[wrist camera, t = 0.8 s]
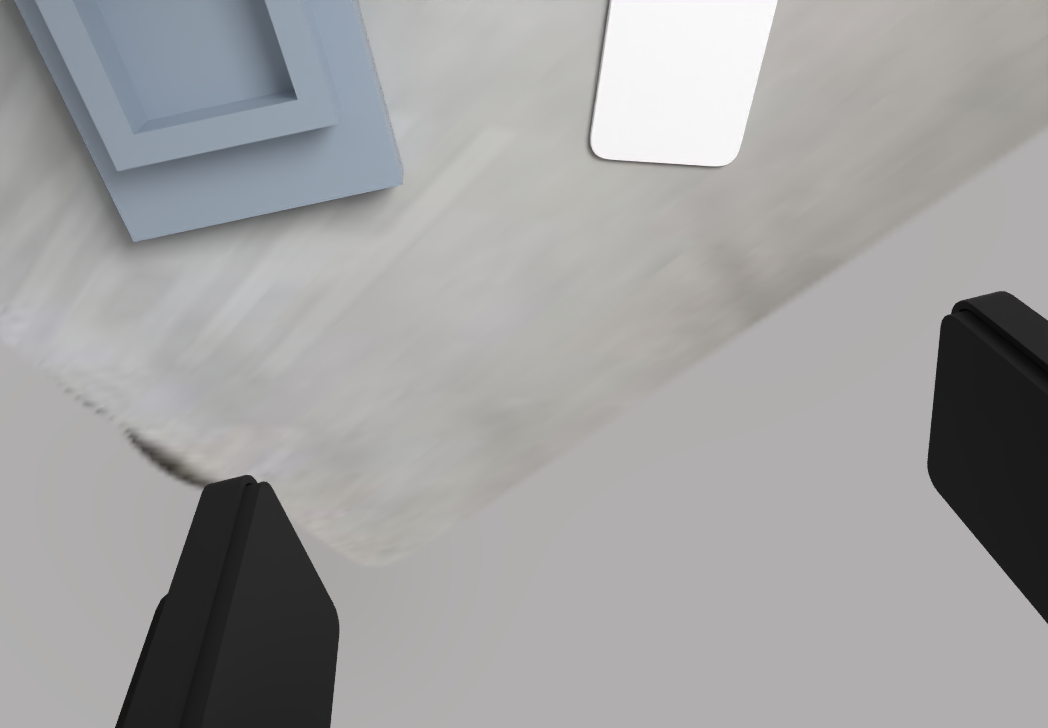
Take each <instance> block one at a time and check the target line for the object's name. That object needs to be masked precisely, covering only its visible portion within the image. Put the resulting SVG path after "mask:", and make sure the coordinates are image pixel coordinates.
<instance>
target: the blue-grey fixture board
mask: <svg viewBox="0 0 1048 728" xmlns="http://www.w3.org/2000/svg"><path fill="white" fill-rule="evenodd" d="M14 1H15V3H16V5H17V7H18V9H19V11H20V13H21V15H22V17H23V19H24V21H25V23H26V25H27V27H28V29H29V31H30V34H31V36H32V38H33V40H34V42H35V44H36V46H37V48H38V50H39V52H40V54H41V56H42V58H43V60H44V62H45V64H46V66H47V68H48V70H49V72H50V74H51V76H52V78H53V80H54V82H55V84H56V86H57V88H58V90H59V92H60V94H61V96H62V98H63V100H64V102H65V104H66V106H67V108H68V110H69V112H70V114H71V116H72V118H73V120H74V122H75V124H76V126H77V128H78V130H79V132H80V135H81V137H82V139H83V141H84V143H85V145H86V147H87V149H88V151H89V153H90V155H91V157H92V159H93V161H94V163H95V165H96V167H97V169H98V171H99V173H100V175H101V177H102V179H103V181H104V183H105V185H106V187H107V189H108V191H109V193H110V195H111V197H112V199H113V201H114V203H115V205H116V207H117V209H118V211H119V213H120V215H121V217H122V219H123V221H124V223H125V225H126V227H127V229H128V231H129V233H130V236H131V238H132V240H133V242H137V241H142V240H147V239H151V238H156V237H161V236H165V235H170V234H175V233H179V232H184V231H189V230H193V229H198V228H203V227H207V226H212V225H217V224H221V223H226V222H231V221H235V220H240V219H245V218H249V217H254V216H259V215H263V214H268V213H273V212H277V211H282V210H287V209H291V208H296V207H301V206H305V205H310V204H315V203H319V202H324V201H329V200H333V199H338V198H343V197H347V196H352V195H357V194H362V193H366V192H371V191H376V190H380V189H385V188H390V187H394V186H399V185H403V167H402V163H401V160H400V156H399V152H398V149H397V145H396V141H395V138H394V134H393V130H392V126H391V123H390V119H389V115H388V112H387V108H386V104H385V101H384V97H383V93H382V90H381V86H380V82H379V79H378V75H377V71H376V68H375V64H374V60H373V56H372V53H371V49H370V45H369V42H368V38H367V34H366V31H365V27H364V23H363V20H362V16H361V12H360V9H359V5H358V1H357V0H14Z"/></svg>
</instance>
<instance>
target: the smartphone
mask: <svg viewBox="0 0 1048 728" xmlns="http://www.w3.org/2000/svg"><path fill="white" fill-rule="evenodd" d="M777 1H778V0H610V2H609V9H608V16H607V22H606V29H605V36H604V43H603V50H602V57H601V63H600V66H601V67H600V69H599V72H600V73H599V76H598V79H599V80H598V83H597V86H598V87H597V90H596V92H597V93H596V98H595V99H596V100H595V104H594V111H593V118H592V125H591V132H590V145H591V148H592V150H593V151H594V153H595V154H596V155H597V156H599V157H601V158H604V159H610V160H625V161H640V162H655V163H670V164H685V165H700V166H724V165H727V164H729V163H730V162H732V161H733V160H734V159H735V157H736V156H737V154H738V152H739V149H740V146H741V142H742V138H743V135H744V131H745V127H746V123H747V119H748V115H749V111H750V107H751V103H752V99H753V95H754V91H755V87H756V84H757V80H758V76H759V72H760V68H761V64H762V60H763V56H764V52H765V48H766V44H767V40H768V36H769V32H770V29H771V25H772V21H773V17H774V13H775V9H776V5H777Z"/></svg>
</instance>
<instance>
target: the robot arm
mask: <svg viewBox="0 0 1048 728" xmlns="http://www.w3.org/2000/svg"><path fill="white" fill-rule="evenodd" d="M937 360H938V361H937V370H936V380H935V391H934V400H933V410H932V420H931V431H930V441H929V451H928V461H927V464H928V466H927V467H928V472H929V476H930V479H931V481H932V483H933V485H934V487H935V488H936V490H937V491H938V492H939V494H940V495H941V496H942V497H943V498H944V499H945V501H946V502H947V503H948V504H949V506H950V507H951V508H952V509H953V510H954V511H955V513H956V514H957V515H958V516H959V517H960V519H961V520H962V521H963V522H964V524H965V525H966V526H967V527H968V528H969V530H970V531H971V532H972V533H973V534H974V536H975V537H976V538H977V539H978V540H979V542H980V543H981V544H982V545H983V546H984V548H985V549H986V550H987V551H988V552H989V554H990V555H991V556H992V557H993V558H994V560H995V561H996V562H997V563H998V564H999V566H1000V567H1001V568H1002V569H1003V570H1004V572H1005V573H1006V574H1007V575H1008V576H1009V578H1010V579H1011V580H1012V581H1013V583H1014V584H1015V585H1016V586H1017V587H1018V588H1019V590H1020V591H1021V592H1022V593H1023V595H1024V596H1025V597H1026V598H1027V599H1028V600H1029V602H1030V603H1031V604H1032V605H1033V606H1034V608H1035V609H1036V610H1037V611H1038V613H1039V614H1040V615H1041V616H1042V617H1043V619H1044V620H1045V621H1046V622H1047V623H1048V320H1046V319H1045V318H1043V317H1042V316H1041V315H1039V314H1038V313H1037V312H1035V311H1034V310H1032V309H1031V308H1030V307H1028V306H1027V305H1025V304H1024V303H1023V302H1021V301H1020V300H1019V299H1017V298H1016V297H1014V296H1013V295H1011V294H1010V293H1007V292H1004V291H999V292H995V293H991V294H987V295H982V296H978V297H974V298H970V299H966V300H962V301H959V302H958V303H956V304H955V305H954V307H953V309H952V313H951V314H950V315H947V316H945V317H944V318H943V320H942V323H941V328H940V339H939V349H938V359H937ZM338 642H339V620H338V615H337V611H336V608H335V606H334V605H333V602H332V600H331V598H330V596H329V595H328V593H327V591H326V589H325V587H324V585H323V583H322V581H321V579H320V577H319V576H318V574H317V572H316V570H315V568H314V566H313V564H312V562H311V560H310V559H309V557H308V555H307V553H306V551H305V549H304V547H303V545H302V544H301V541H300V540H299V538H298V536H297V534H296V532H295V530H294V528H293V526H292V524H291V523H290V521H289V519H288V517H287V515H286V513H285V511H284V509H283V507H282V505H281V504H280V502H279V500H278V498H277V496H276V494H275V492H274V490H273V489H272V487H271V485H270V484H269V483H267V482H260V483H257V481H256V480H255V479H254V478H253V477H252V476H251V475H244V476H240V477H236V478H232V479H228V480H224V481H220V482H216V483H211V484H208V485H207V486H205V488H204V490H203V492H202V494H201V497H200V500H199V503H198V506H197V509H196V512H195V515H194V518H193V521H192V524H191V527H190V530H189V533H188V536H187V539H186V542H185V545H184V548H183V551H182V554H181V556H180V559H179V562H178V565H177V568H176V572H175V574H174V577H173V580H172V583H171V586H170V589H169V592H168V594H167V595H166V596H164V597H163V598H162V599H161V601H160V603H159V605H158V607H157V609H156V611H155V614H154V617H153V620H152V622H151V625H150V628H149V631H148V634H147V637H146V640H145V643H144V646H143V648H142V651H141V654H140V657H139V660H138V663H137V666H136V669H135V672H134V675H133V677H132V681H131V683H130V686H129V689H128V692H127V695H126V698H125V700H124V703H123V707H122V709H121V712H120V715H119V718H118V721H117V724H116V726H115V728H330V724H331V714H332V703H333V692H334V682H335V672H336V662H337V651H338Z"/></svg>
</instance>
